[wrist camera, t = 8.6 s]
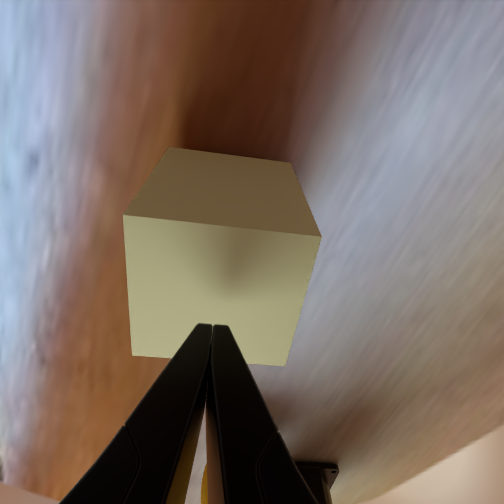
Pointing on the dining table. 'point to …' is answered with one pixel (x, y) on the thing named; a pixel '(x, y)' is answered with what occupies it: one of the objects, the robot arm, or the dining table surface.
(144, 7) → the dining table surface
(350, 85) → the dining table surface
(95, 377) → the dining table surface
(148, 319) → the cream rectangular block
